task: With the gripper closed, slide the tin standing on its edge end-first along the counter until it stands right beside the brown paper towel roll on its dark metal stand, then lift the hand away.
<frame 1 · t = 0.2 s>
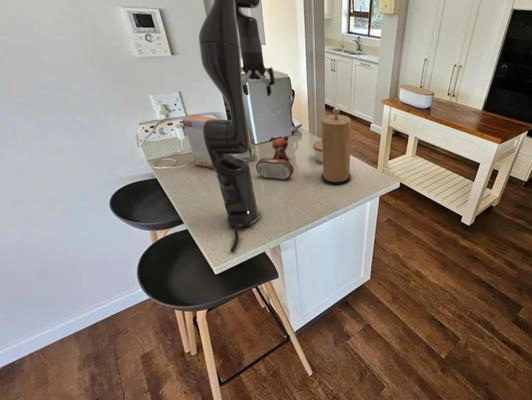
hand: (258, 95, 113), 29 cm above the countertop, tool pointing down, fingers open, 8 cm apart
cracker box: (214, 165, 122), on the countertop
trinket box: (325, 160, 132), on the countertop
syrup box: (246, 158, 129), on the countertop
stuffed fox: (281, 160, 130), on the countertop
paper towel roll: (336, 177, 118), on the countertop
tin: (276, 178, 116), on the countertop
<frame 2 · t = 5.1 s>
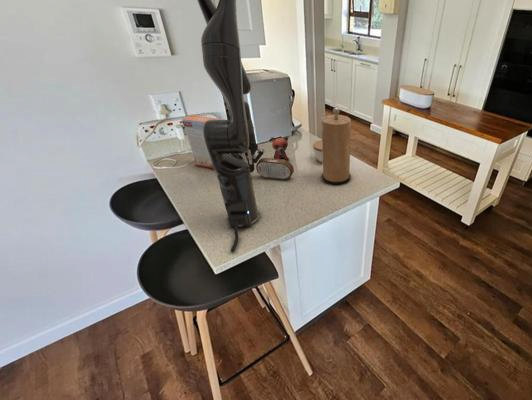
hand: (251, 171, 113), 3 cm above the countertop, tool pointing down, fingers closed
tin: (276, 178, 116), on the countertop, touching gripper
everything else where it was.
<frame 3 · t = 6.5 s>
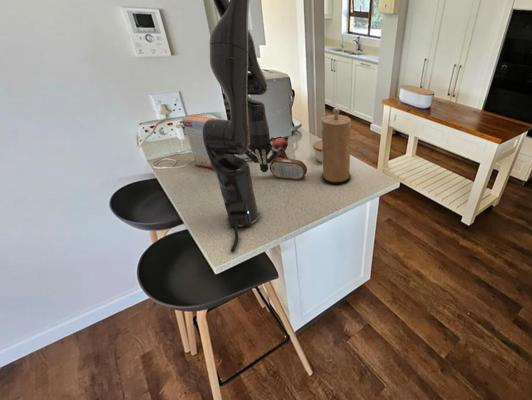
hand: (264, 171, 114), 3 cm above the countertop, tool pointing down, fingers closed
tin: (289, 178, 116), on the countertop, touching gripper
everything else where it was.
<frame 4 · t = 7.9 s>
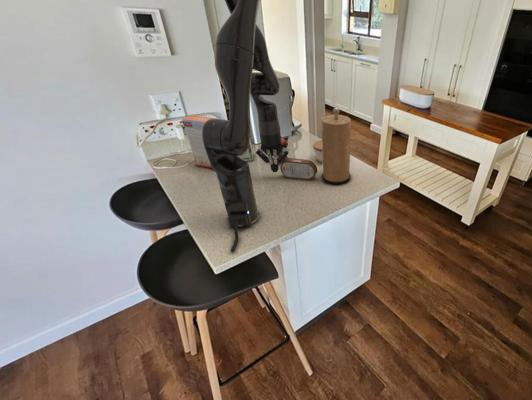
hand: (275, 171, 114), 3 cm above the countertop, tool pointing down, fingers closed
tin: (299, 178, 117), on the countertop, touching gripper
everything else where it was.
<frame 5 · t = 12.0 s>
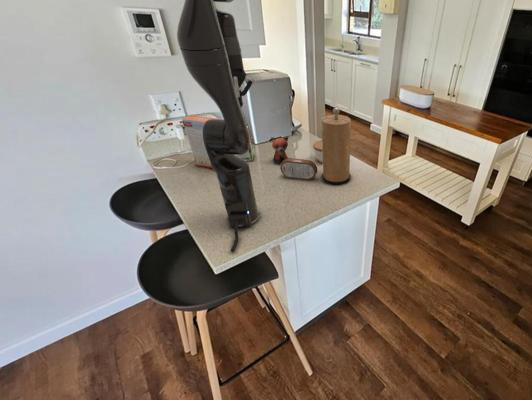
hand: (239, 107, 98), 29 cm above the countertop, tool pointing down, fingers closed
tin: (299, 178, 117), on the countertop
everything else where it was.
at the end: tin 0.7 cm from the target spot on the countertop beside the paper towel roll, on the countertop; tin tilted 0°; the gripper is holding nothing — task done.
